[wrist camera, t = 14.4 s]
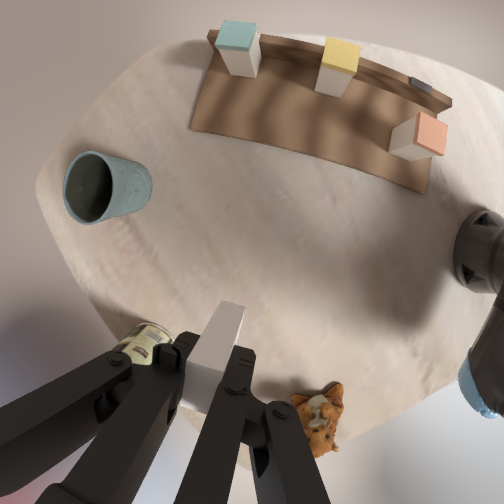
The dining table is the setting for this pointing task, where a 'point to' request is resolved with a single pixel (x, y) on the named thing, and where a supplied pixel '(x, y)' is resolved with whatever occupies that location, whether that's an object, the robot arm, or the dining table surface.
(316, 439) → the stuffed squirrel
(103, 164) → the blue-grey embossed cup
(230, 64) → the button
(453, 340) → the dining table surface
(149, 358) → the coffee can
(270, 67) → the button console
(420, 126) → the button
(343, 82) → the middle button
